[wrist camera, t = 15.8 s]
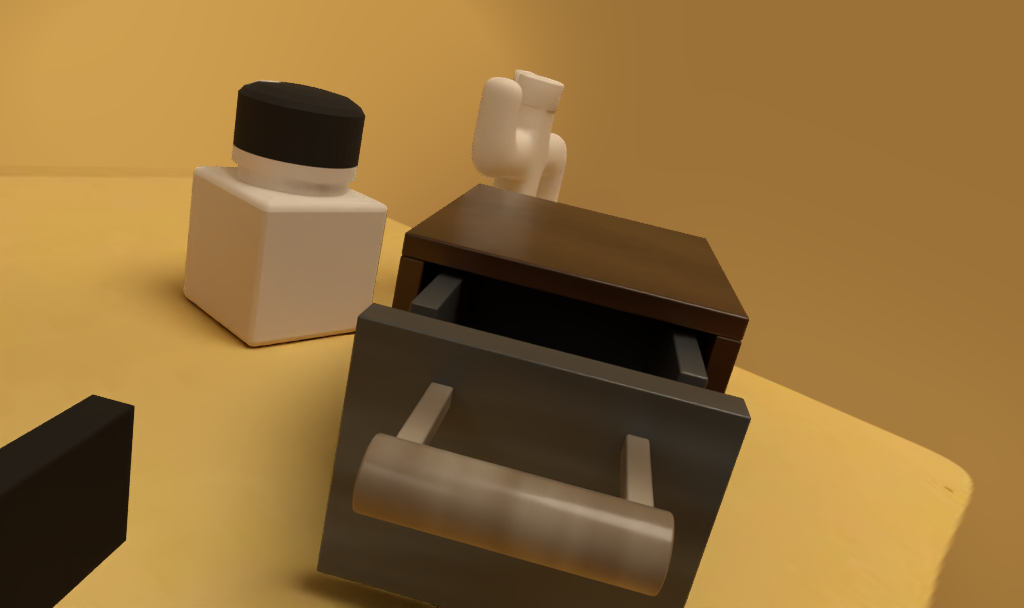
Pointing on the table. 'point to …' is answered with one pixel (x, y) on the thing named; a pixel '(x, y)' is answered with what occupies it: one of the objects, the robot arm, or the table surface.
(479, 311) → the grey pull-out drawer
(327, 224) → the medicine bottle
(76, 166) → the table surface
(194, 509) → the table surface
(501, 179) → the figurine
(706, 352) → the cabinet
